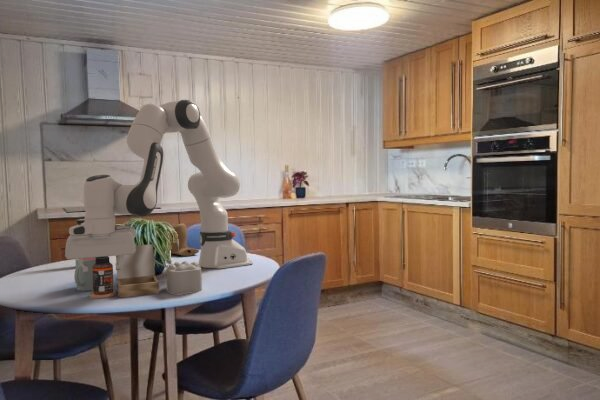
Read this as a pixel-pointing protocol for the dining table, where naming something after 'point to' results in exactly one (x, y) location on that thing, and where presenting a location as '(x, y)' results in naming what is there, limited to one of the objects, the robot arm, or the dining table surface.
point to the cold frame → (137, 273)
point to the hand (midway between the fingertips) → (102, 270)
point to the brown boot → (182, 242)
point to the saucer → (96, 296)
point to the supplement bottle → (102, 276)
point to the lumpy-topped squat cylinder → (184, 278)
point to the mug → (84, 274)
